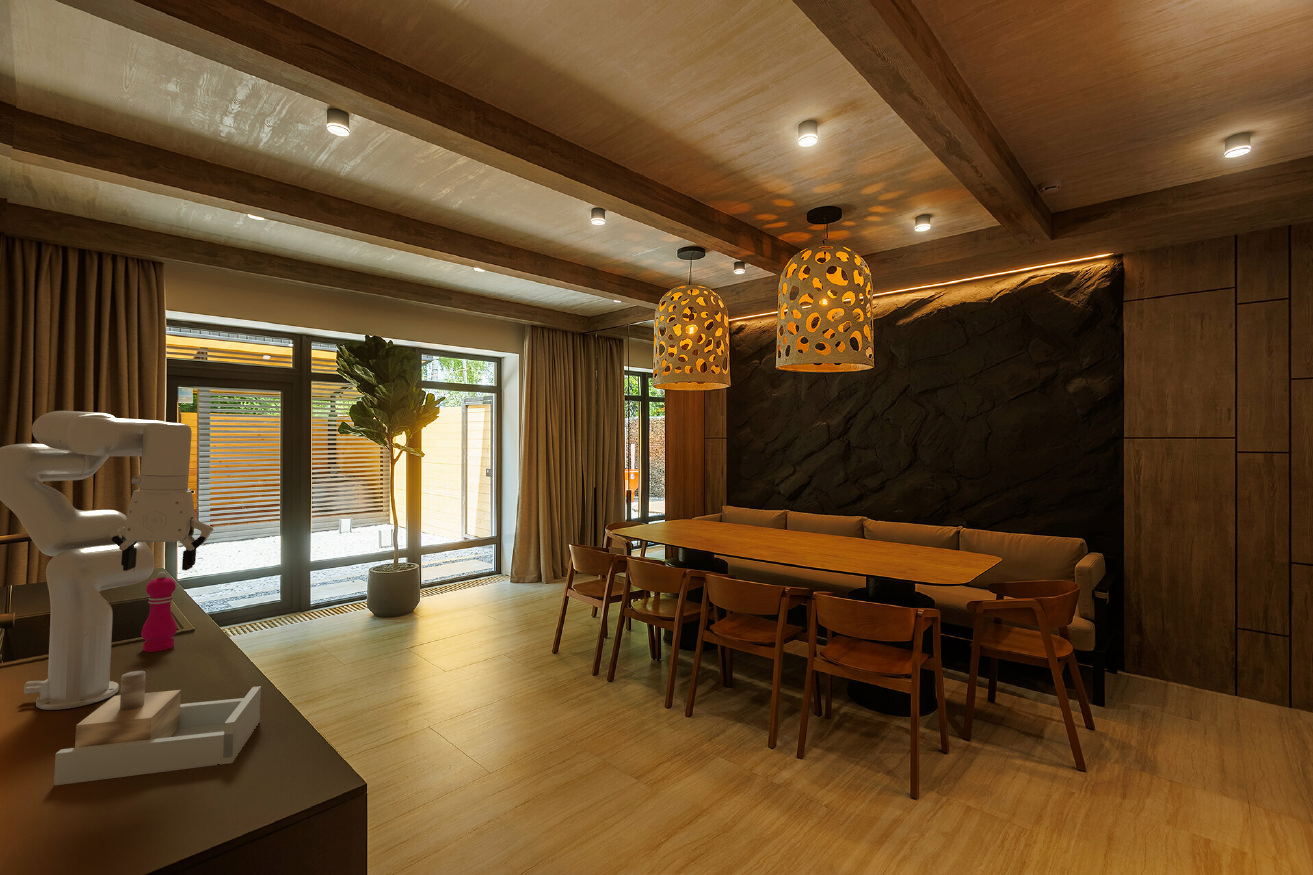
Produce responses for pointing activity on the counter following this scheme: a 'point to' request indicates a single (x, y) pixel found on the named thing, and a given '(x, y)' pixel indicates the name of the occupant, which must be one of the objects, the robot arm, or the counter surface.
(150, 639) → the pepper mill
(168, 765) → the bay
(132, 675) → the wooden block with knob
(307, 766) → the counter surface
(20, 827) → the counter surface
